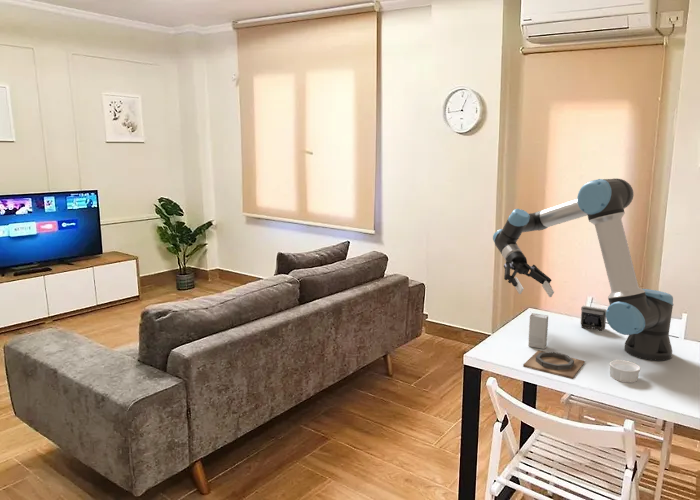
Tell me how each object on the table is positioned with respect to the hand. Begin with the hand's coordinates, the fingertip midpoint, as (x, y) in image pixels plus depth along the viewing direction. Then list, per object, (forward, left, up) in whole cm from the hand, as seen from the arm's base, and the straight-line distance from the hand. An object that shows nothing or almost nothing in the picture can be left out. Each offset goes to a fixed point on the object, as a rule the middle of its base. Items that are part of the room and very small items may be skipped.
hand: (536, 293), depth 203 cm
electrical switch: (-15, -27, -19) cm, 36 cm away
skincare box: (-3, +6, -19) cm, 20 cm away
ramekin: (-34, +16, -19) cm, 42 cm away
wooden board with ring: (-13, +19, -19) cm, 30 cm away
